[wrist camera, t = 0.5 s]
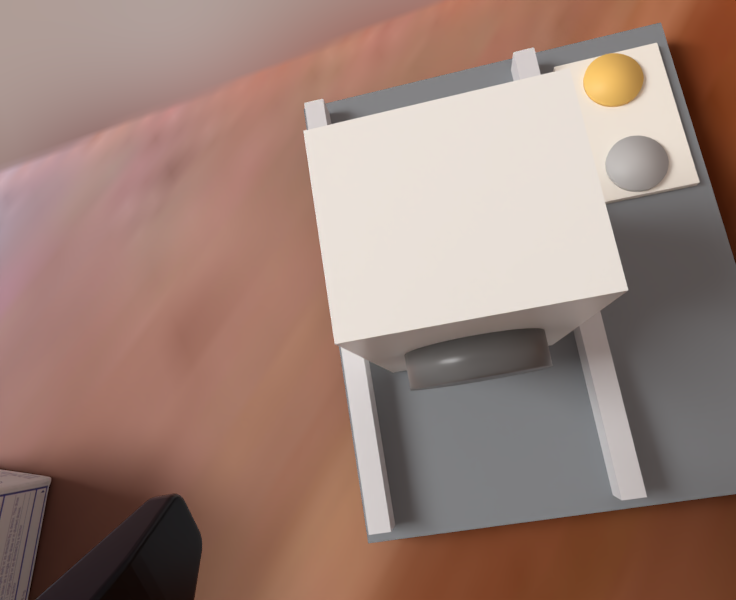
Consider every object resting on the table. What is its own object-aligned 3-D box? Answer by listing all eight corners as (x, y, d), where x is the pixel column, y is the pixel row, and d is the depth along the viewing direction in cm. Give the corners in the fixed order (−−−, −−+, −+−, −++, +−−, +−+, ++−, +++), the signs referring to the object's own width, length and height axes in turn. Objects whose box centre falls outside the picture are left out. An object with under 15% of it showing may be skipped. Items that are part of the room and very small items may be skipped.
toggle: (558, 372, 21) (641, 340, 11) (397, 398, 21) (342, 391, 12) (523, 218, 22) (569, 68, 12) (372, 249, 23) (303, 130, 13)
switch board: (779, 479, 20) (826, 489, 18) (374, 534, 22) (362, 551, 20) (648, 45, 24) (671, 1, 22) (312, 125, 26) (295, 94, 24)
